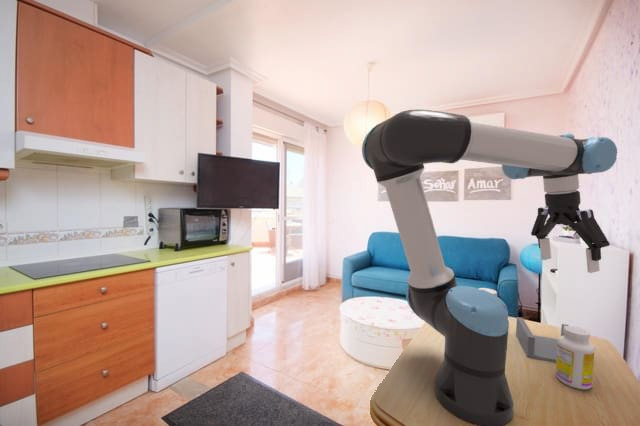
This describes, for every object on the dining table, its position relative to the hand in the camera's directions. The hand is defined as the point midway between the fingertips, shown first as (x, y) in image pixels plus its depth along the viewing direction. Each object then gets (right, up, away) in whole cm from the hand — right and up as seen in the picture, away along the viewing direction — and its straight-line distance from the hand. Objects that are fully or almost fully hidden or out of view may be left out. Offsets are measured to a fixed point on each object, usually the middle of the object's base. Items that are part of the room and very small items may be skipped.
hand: (568, 264), depth 83 cm
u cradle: (-5, -25, +1) cm, 25 cm away
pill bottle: (-19, -24, +9) cm, 32 cm away
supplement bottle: (-10, -26, -13) cm, 31 cm away
